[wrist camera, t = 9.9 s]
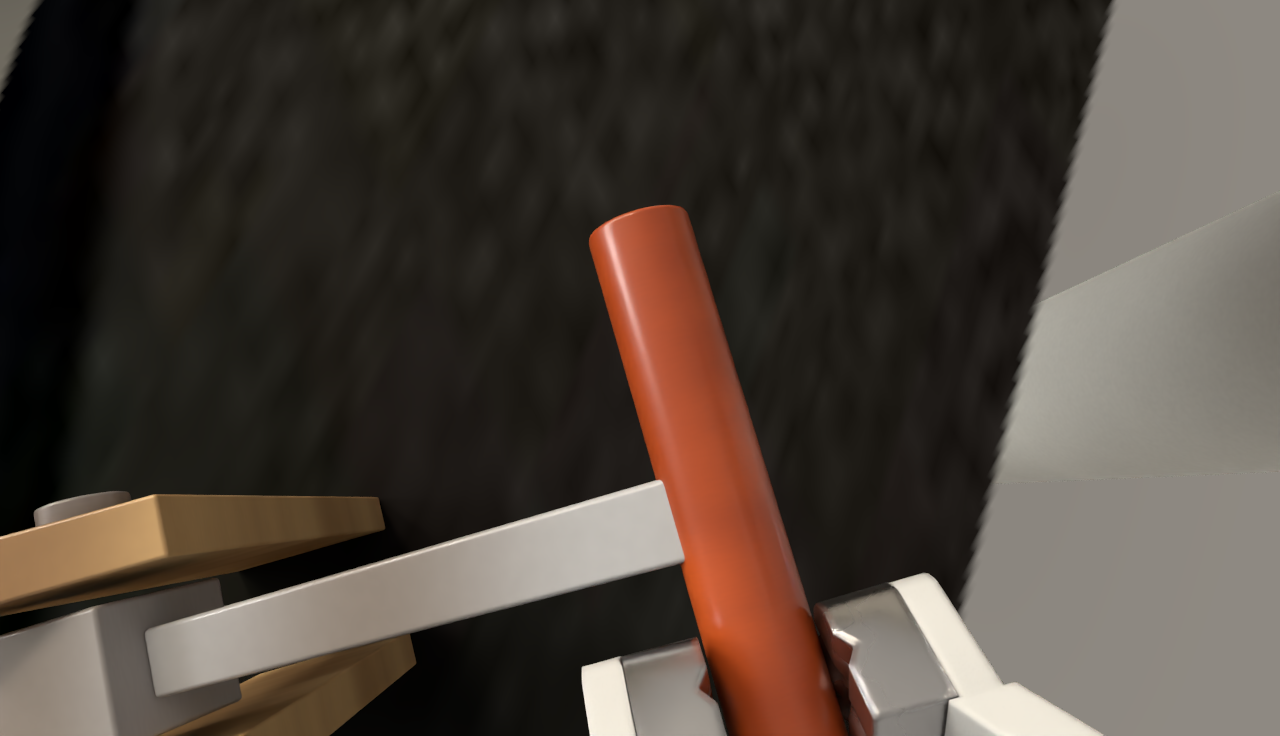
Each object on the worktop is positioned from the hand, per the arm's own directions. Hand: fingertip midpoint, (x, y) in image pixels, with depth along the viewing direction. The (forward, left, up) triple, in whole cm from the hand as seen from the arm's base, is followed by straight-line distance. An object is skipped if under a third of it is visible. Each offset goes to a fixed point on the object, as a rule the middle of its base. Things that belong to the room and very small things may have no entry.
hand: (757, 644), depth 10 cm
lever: (+5, +2, -3) cm, 6 cm away
